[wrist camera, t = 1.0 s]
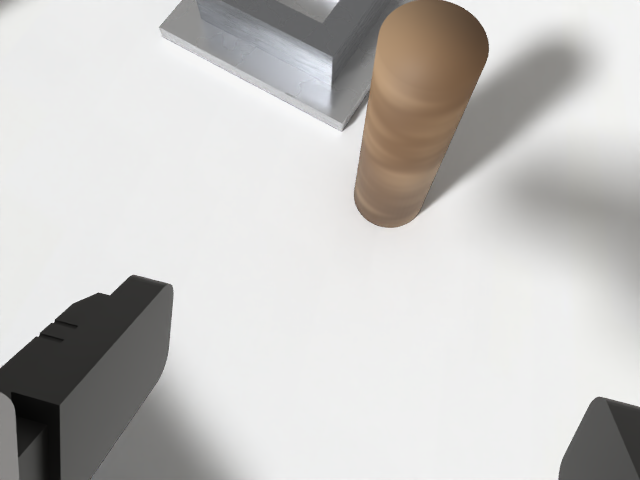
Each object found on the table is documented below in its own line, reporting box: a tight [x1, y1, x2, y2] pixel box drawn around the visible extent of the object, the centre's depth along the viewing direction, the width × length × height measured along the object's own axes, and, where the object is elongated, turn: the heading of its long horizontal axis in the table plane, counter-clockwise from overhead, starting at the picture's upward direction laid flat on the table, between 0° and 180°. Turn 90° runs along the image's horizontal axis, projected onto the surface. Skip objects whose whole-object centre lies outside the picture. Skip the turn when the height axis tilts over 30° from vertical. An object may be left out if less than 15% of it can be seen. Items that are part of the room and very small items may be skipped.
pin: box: [354, 0, 489, 228], centre depth 24 cm, size 4×4×12 cm
